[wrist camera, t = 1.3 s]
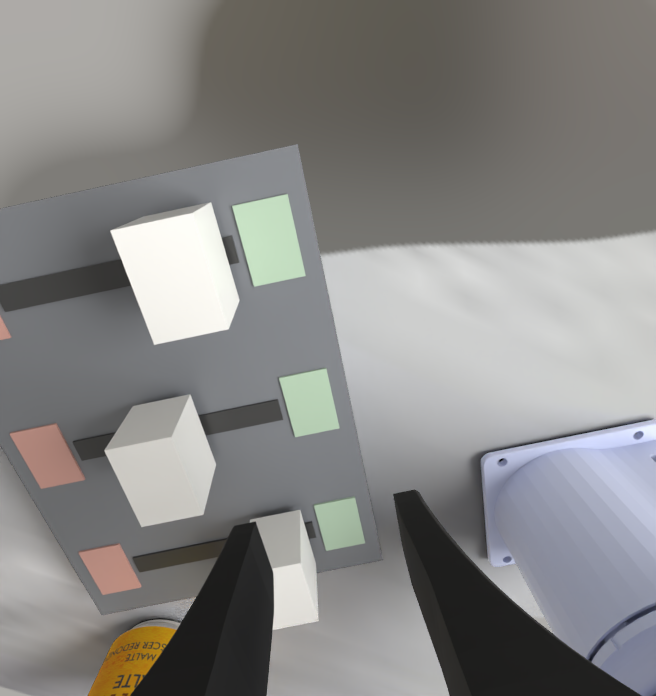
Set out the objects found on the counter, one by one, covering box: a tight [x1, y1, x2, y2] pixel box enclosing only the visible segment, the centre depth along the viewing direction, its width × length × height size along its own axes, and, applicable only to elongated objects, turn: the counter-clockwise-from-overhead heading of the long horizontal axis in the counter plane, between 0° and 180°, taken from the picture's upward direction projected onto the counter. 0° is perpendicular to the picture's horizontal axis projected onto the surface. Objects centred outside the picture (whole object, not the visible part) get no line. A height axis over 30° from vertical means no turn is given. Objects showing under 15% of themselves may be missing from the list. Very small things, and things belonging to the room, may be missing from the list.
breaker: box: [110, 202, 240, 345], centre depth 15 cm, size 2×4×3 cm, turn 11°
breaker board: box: [0, 144, 383, 615], centre depth 20 cm, size 15×20×2 cm
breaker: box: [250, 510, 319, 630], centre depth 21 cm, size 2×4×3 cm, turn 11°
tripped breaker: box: [104, 394, 216, 527], centre depth 18 cm, size 2×4×3 cm, turn 11°
